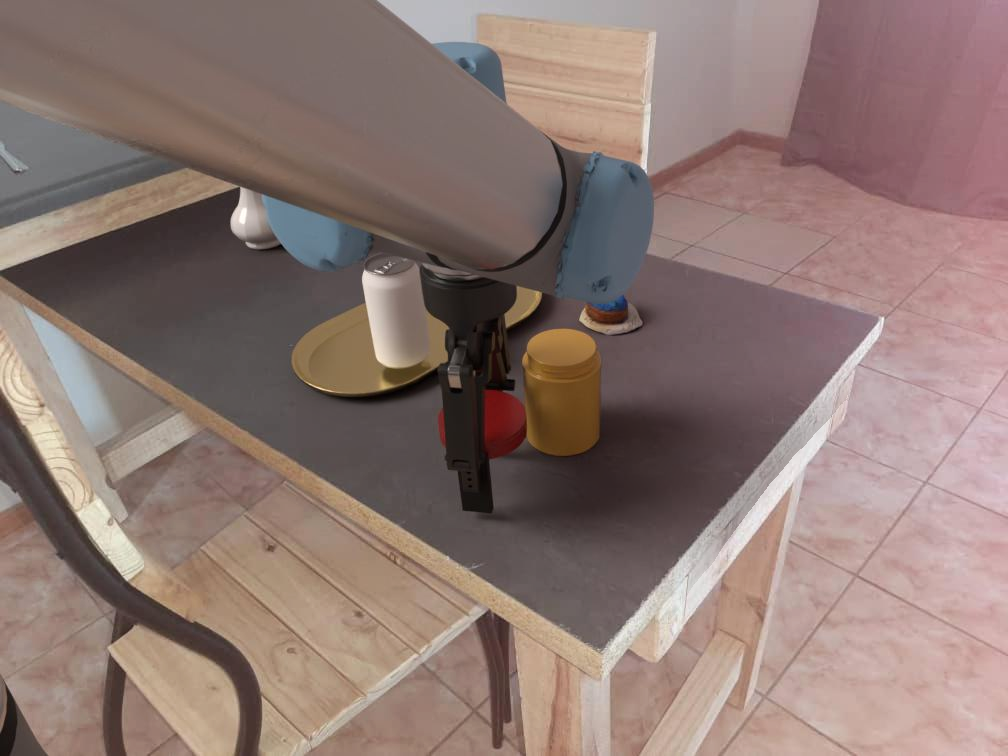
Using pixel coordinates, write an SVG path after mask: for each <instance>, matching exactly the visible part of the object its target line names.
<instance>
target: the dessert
mask: <svg viewBox="0 0 1008 756" xmlns="http://www.w3.org/2000/svg"><path fill="white" fill-rule="evenodd" d="M579 322H580V323H581V324H583V326H584V327H586V328H588V329H590V330H592V331H595V332H598V333H602V334H604V335H607V336H613V335H619V334H625V333H628V332H631V331H634V330H635V329H637V328H639V327H642V326H643V321H642V319H641V318H640V315H639V312H638V309H637V308H636V306H635V305H633V304H632V303H630V302H628V299H627V298H626V297H625V294H624V295H623V296H621V297H620V298H618V299H616V300H615V301H613V302H610V303H607V304H596V303H591V302H586V303H585V307H584V308H583V310H582V311H581V313H580V316H579Z"/></svg>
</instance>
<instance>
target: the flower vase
mask: <svg viewBox="0 0 1008 756" xmlns="http://www.w3.org/2000/svg"><path fill="white" fill-rule="evenodd" d="M238 200H239V201H238V204H237V206H236V207H235V208H234V210H233V212H232V214H231V217H230V220H229V221H230V222H229V224H230V229H231V232H232V234H234V236H236V238H238V239H239V240H240V241H242V242H244V243H245V245H246V246H247V247H248V248H250V249H252V250H256V251H257V250H258V251H259V250H270V249H272V248H276V247H278V246H281V245H282V244H281V243H280V241H279V240H278V239H277V237H276V236H275V234H274V232H273V231H272V229H271V227H270V225H269V223H268V220H267V217H266V215H267V213H266V209H265V207H264V203H263V201H262V196H261V194H260V193H257V192H254V191H251V190H248V189H245V188H243V187H240V186H239V199H238Z"/></svg>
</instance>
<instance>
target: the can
mask: <svg viewBox="0 0 1008 756" xmlns="http://www.w3.org/2000/svg"><path fill="white" fill-rule="evenodd" d="M362 268H363V269H364V270H363V273H362V276H361V284H362V289H363V295H364V302H365V303H366V306H367V312H368V317H369V323H370V328H371V334H372V339H373V345H374V350H375V355H376V358H377V360H378V361H379V362H380V363H382V364H383V365H384V366H387V367H390V368H395V369H402V368H409V367H413V366H415V365H418V364H420V363H421V362H423V361H424V360H425V359H426V358H427V356H428V355H429V353H430V350H431V347H430V338H429V331H428V323H427V315H426V308H425V306H424V302H423V295H422V287H421V280H420V273H419V269H420V267H419V266H418V264H417V263H416V261H414V260H410V259H406V258H402V257H398V256H394V255H390V254H386V253H382V252H377V253H375V254H372V255H371V256H369V257H367V258H366V259H365V260H364V261H363V267H362Z"/></svg>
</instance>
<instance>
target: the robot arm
mask: <svg viewBox="0 0 1008 756" xmlns="http://www.w3.org/2000/svg"><path fill="white" fill-rule="evenodd" d="M503 74H504V73H503V66H502V61H501V58H500V56H499V55H498V54H497V52H496V51H494V50H493V48H491V47H489V46H487V45H484V44H481V43H477V42H467V41H443V42H434V43H433V42H430V41H429V40H428V39H426V38H425V37H424V36H423V35H421V34H420V33H419V32H418V31H416V29H414V28H412V26H410V25H409V24H408V23H406V22H405V21H404V20H403V19H401V18H400V17H399V16H397V15H396V14H395V13H394V12H393V11H391V10H390V9H389V8H388V7H386V6H385V5H384V4H383V3H382V2H380V1H379V0H0V103H1V104H4V105H7V106H10V107H13V108H16V109H19V110H21V111H24V112H27V113H30V114H33V115H36V116H38V117H41V118H44V119H47V120H49V121H52V122H55V123H57V124H61V125H63V126H67V127H70V128H73V129H74V130H78V131H81V132H83V133H87V134H88V135H93V136H95V137H98V138H101V139H103V140H107V141H110V142H112V143H115V144H118V145H120V146H124V147H126V148H129V149H132V150H135V151H137V152H140V153H143V154H146V155H148V156H152V157H155V158H157V159H160V160H163V161H166V162H168V163H172V164H173V165H174V164H175V165H177V166H180V167H183V168H186V169H188V170H192V171H194V172H197V173H200V174H203V175H206V176H209V177H211V178H213V179H216V180H220V181H223V182H226V183H227V184H228V183H229V184H231V185H235V186H236V187H237V186H238V187H239V188H240V187H243V188H245V189H248V190H251V191H254V192H257V193H260V194H261V196H262V201H263V203H264V207H265V209H266V213H267V215H266V217H267V220H268V223H269V225H270V227H271V229H272V231H273V232H274V234H275V236H276V237H277V239H278V240H279V241H280V243H281V244H280V245H281V246H283V248H284V249H285V250H286V251H287V252H288V254H290V256H292V257H293V258H294V259H295V260H297V262H299V263H301V264H302V265H303V266H306V267H307V268H309V269H313V270H314V271H318V272H322V273H331V272H337V271H338V270H339V271H340V270H343V269H345V268H347V267H350V266H352V265H354V264H358V263H360V262H365V261H366V260H367V259H368V256H369V255H370V254H374V253H375V254H376V253H386V254H390V255H394V256H398V257H402V258H406V259H410V260H414V261H415V262H417V263H418V262H419V263H420V266H419V273H420V280H421V287H422V295H423V302H424V306H425V308H426V310H427V311H428V312H429V313H430V314H431V315H432V316H433V317H435V318H436V319H439V320H440V321H442V322H443V323H445V324H446V325H447V326H448V327H449V330H446V332H445V349H446V351H447V353H448V363H440V365H439V368H438V370H437V375H438V376H437V377H438V380H439V385H440V389H441V398H442V408H443V414H444V428H445V442H446V448H445V455H444V460H445V462H446V466H447V467H446V468H447V470H448V471H456V472H457V478H458V485H459V492H460V501H461V509H462V511H463V512H470V513H471V512H474V513H483V514H493V511H494V496H493V487H492V477H491V476H492V475H491V467H490V459H489V454H488V453H485V390H497V391H502V392H507V391H508V392H514V391H515V389H516V379H515V378H508V377H507V376H508V375H510V373H511V371H512V365H511V358H510V349H509V341H508V331H506V323H505V315H504V314H505V313H507V312H508V311H509V310H510V309H511V308H512V307H513V305H514V304H515V302H516V298H517V287H516V286H519V287H523V288H527V289H531V290H534V291H538V292H542V294H545V295H546V294H547V295H549V296H553V297H555V298H557V299H561V300H565V299H571V300H576V301H579V302H584V303H585V302H591V303H596V304H607V303H610V302H613V301H615V300H616V299H618V298H620V297H621V296H623V295H624V296H625V294H626V293H627V292H628V291H629V290H630V288H631V287H632V285H633V284H634V282H635V281H636V279H637V277H638V275H639V274H640V271H641V270H642V267H643V264H644V262H645V258H646V256H647V252H648V250H649V246H650V242H651V237H652V234H653V228H654V218H655V198H654V191H653V187H652V183H651V180H650V178H649V176H648V174H647V173H646V170H644V169H643V168H642V167H641V165H639V164H637V163H636V162H633V161H630V160H625V159H621V158H616V157H612V156H609V155H604V154H603V152H601V151H592V152H583V151H582V152H581V151H576V150H571V149H569V148H567V147H564V146H562V145H560V144H559V143H558V142H556V141H555V140H553V139H552V138H551V137H550V136H549V135H547V134H545V133H544V132H543V131H541V130H540V129H539V128H538V127H537V126H535V125H534V124H533V123H532V122H530V121H529V120H528V119H527V118H525V117H524V116H523V115H522V114H520V113H519V112H518V111H516V110H515V109H514V108H513V107H511V106H510V105H509V104H508V103H507V98H506V97H507V96H506V89H505V82H504V81H505V80H504V75H503ZM0 756H49V755H48V753H47V752H46V751H45V750H44V748H43V747H42V745H41V744H40V743H39V741H38V740H37V738H36V735H35V734H34V732H33V731H32V728H31V727H30V725H29V723H28V721H27V719H26V718H25V716H24V714H23V712H22V710H21V708H20V707H19V705H18V703H17V701H16V699H15V697H14V696H13V694H12V692H11V690H10V689H9V687H8V685H7V683H6V681H5V679H4V678H3V676H2V674H1V673H0Z"/></svg>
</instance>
